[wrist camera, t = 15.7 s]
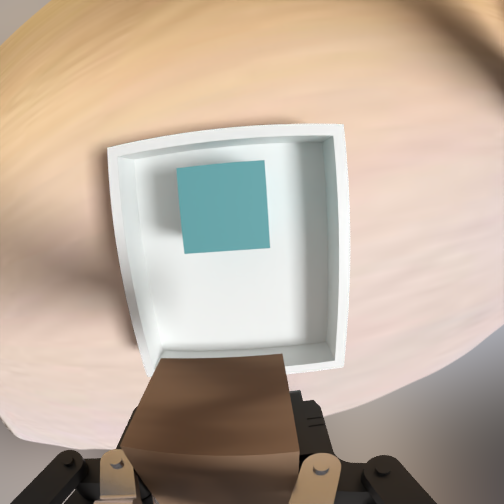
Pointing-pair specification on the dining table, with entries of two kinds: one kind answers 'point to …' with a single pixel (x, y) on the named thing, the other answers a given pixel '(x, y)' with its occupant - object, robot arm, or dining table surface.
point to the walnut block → (216, 432)
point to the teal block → (223, 207)
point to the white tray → (239, 261)
